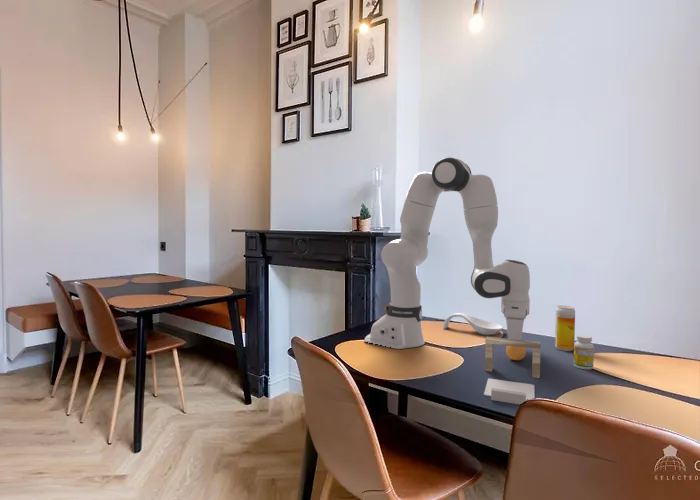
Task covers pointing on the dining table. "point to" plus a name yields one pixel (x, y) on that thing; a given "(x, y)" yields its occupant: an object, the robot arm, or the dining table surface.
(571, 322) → the orange yellow canister
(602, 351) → the dining table surface
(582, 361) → the supplement bottle
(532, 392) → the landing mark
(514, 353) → the ball
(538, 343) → the bridge
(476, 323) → the spoon rest
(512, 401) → the block
